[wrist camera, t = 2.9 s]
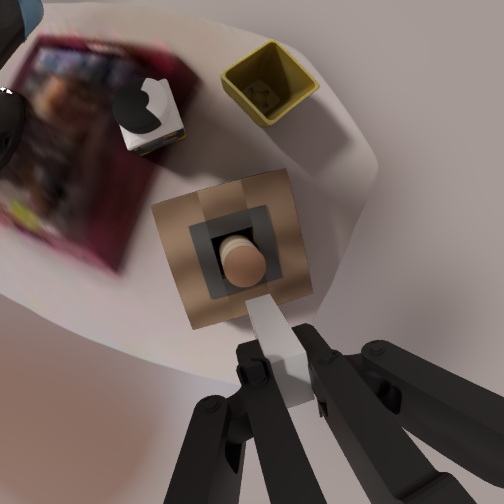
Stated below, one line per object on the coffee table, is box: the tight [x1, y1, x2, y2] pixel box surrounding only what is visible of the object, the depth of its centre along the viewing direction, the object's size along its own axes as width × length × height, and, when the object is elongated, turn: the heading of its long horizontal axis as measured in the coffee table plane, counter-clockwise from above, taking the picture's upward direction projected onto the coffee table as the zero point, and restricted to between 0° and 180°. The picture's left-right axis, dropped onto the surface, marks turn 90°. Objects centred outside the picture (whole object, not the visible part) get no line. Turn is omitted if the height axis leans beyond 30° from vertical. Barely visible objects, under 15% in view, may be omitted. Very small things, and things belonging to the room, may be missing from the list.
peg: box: [219, 233, 266, 287], centre depth 31 cm, size 4×4×8 cm
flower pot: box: [220, 39, 320, 127], centre depth 33 cm, size 9×9×9 cm
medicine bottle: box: [112, 78, 186, 156], centre depth 30 cm, size 7×7×12 cm
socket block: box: [151, 168, 313, 330], centre depth 37 cm, size 16×16×8 cm
